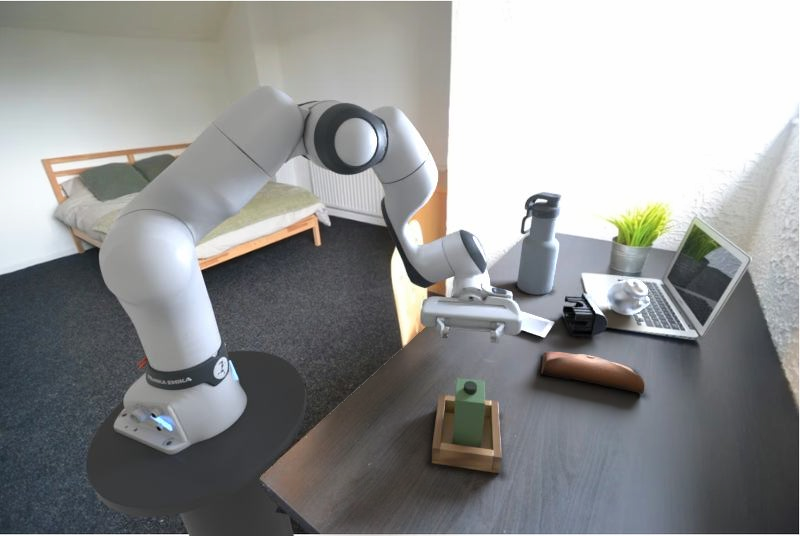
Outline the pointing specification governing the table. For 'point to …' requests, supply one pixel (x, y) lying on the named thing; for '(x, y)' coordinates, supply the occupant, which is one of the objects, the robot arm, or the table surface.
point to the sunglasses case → (591, 370)
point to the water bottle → (539, 244)
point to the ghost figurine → (628, 297)
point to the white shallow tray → (535, 324)
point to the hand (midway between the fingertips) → (469, 337)
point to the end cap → (584, 316)
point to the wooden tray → (465, 455)
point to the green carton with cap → (469, 412)
